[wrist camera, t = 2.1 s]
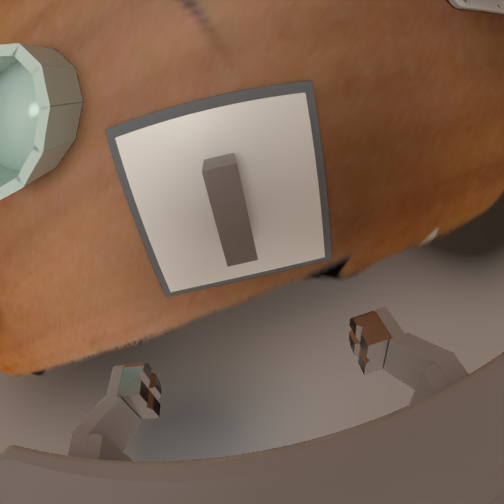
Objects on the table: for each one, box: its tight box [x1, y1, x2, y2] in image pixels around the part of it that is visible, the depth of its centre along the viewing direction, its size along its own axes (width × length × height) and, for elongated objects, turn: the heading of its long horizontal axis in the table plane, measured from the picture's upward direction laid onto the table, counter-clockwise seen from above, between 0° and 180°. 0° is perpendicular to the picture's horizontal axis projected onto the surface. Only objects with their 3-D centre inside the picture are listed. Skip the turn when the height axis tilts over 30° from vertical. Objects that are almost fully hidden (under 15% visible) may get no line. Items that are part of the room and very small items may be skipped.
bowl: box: [0, 43, 83, 200], centre depth 17 cm, size 13×13×6 cm
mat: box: [105, 81, 332, 297], centre depth 26 cm, size 18×18×1 cm
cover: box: [115, 93, 325, 292], centre depth 24 cm, size 16×16×5 cm
